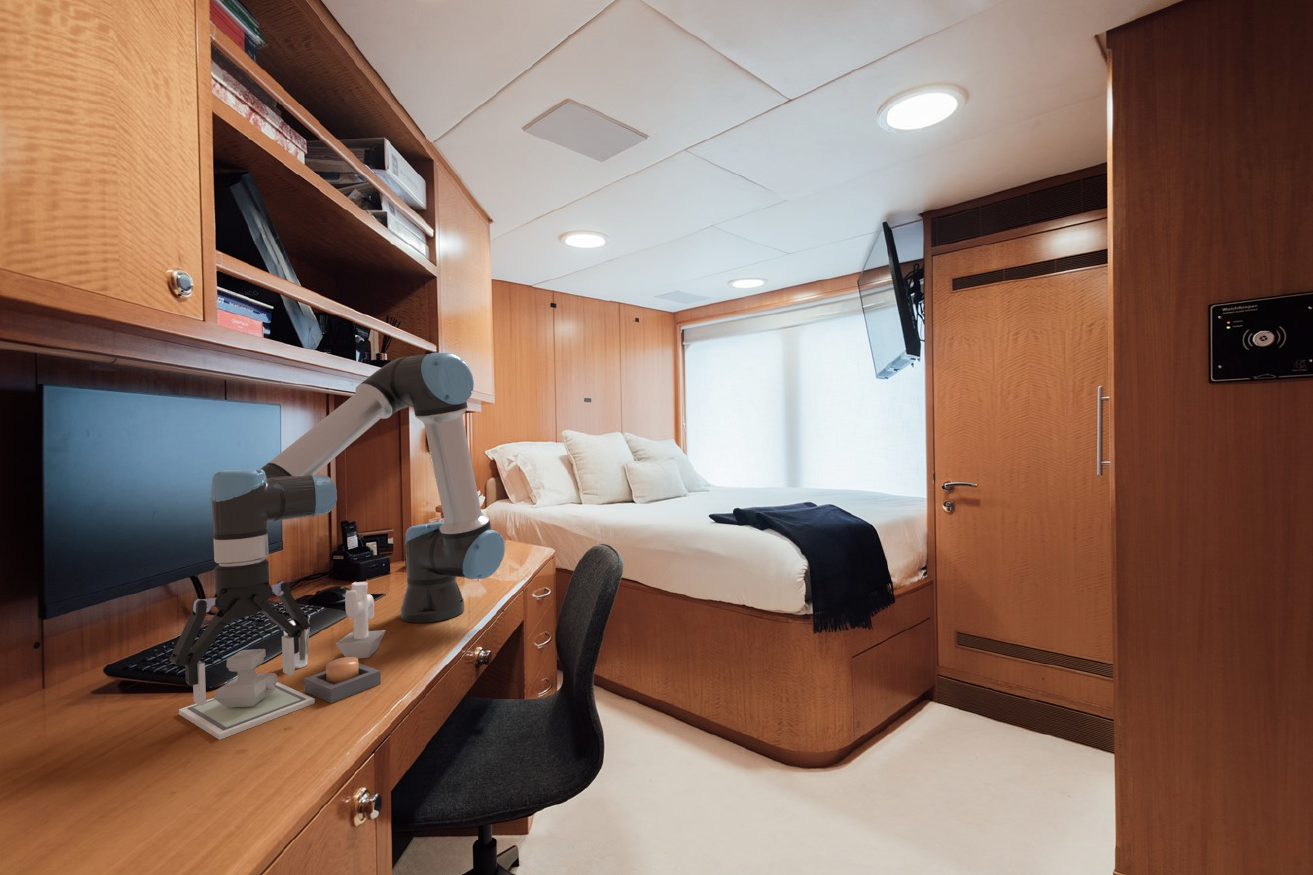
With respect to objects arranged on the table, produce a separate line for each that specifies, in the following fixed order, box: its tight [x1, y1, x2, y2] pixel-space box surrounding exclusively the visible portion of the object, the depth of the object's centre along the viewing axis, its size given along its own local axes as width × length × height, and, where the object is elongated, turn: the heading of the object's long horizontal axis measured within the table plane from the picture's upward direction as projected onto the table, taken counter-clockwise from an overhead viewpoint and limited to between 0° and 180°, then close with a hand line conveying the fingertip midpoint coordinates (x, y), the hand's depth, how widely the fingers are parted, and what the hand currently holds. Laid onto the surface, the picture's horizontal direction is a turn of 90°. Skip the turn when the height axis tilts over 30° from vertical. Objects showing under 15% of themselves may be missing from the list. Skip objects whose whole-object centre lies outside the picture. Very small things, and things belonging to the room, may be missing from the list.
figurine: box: [335, 581, 387, 659], centre depth 125 cm, size 7×9×15 cm
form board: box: [178, 681, 316, 741], centre depth 101 cm, size 14×16×1 cm
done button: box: [325, 656, 359, 685], centre depth 109 cm, size 5×5×3 cm
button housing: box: [303, 662, 382, 704], centre depth 109 cm, size 9×9×2 cm
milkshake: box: [282, 616, 311, 670], centre depth 119 cm, size 4×5×10 cm
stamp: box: [213, 648, 279, 708], centre depth 101 cm, size 9×7×8 cm
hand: (246, 687), depth 101 cm, fingers open, 13 cm apart
